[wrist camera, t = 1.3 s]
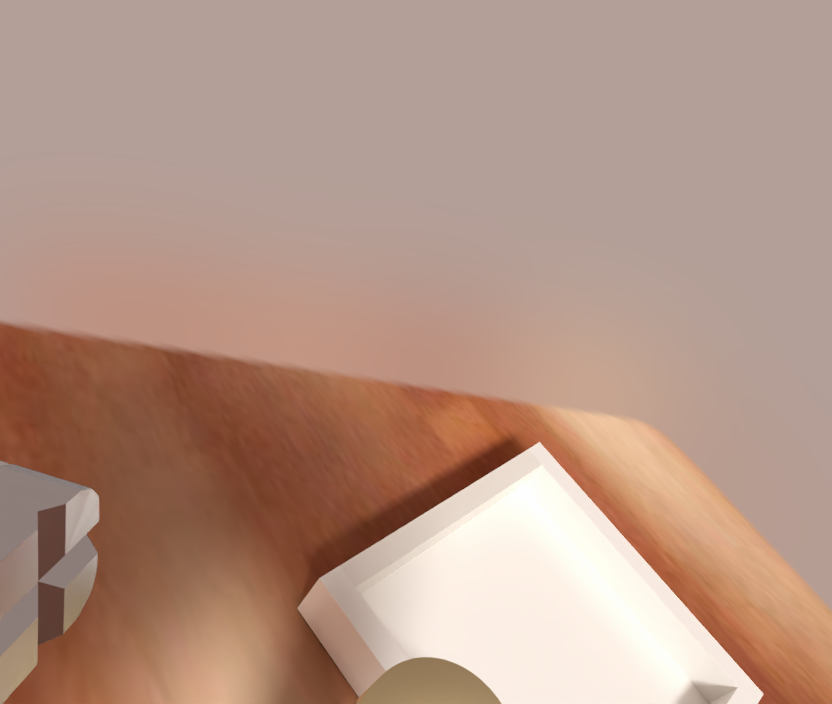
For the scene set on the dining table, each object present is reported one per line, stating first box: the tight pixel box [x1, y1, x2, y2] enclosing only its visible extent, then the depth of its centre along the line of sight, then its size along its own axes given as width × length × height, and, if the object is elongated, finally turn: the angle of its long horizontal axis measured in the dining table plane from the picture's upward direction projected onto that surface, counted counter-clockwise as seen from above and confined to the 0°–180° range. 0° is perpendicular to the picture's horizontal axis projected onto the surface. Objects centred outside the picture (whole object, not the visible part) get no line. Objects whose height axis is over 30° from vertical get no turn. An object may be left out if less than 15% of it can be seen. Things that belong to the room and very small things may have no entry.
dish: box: [297, 442, 763, 704], centre depth 38 cm, size 17×17×3 cm
